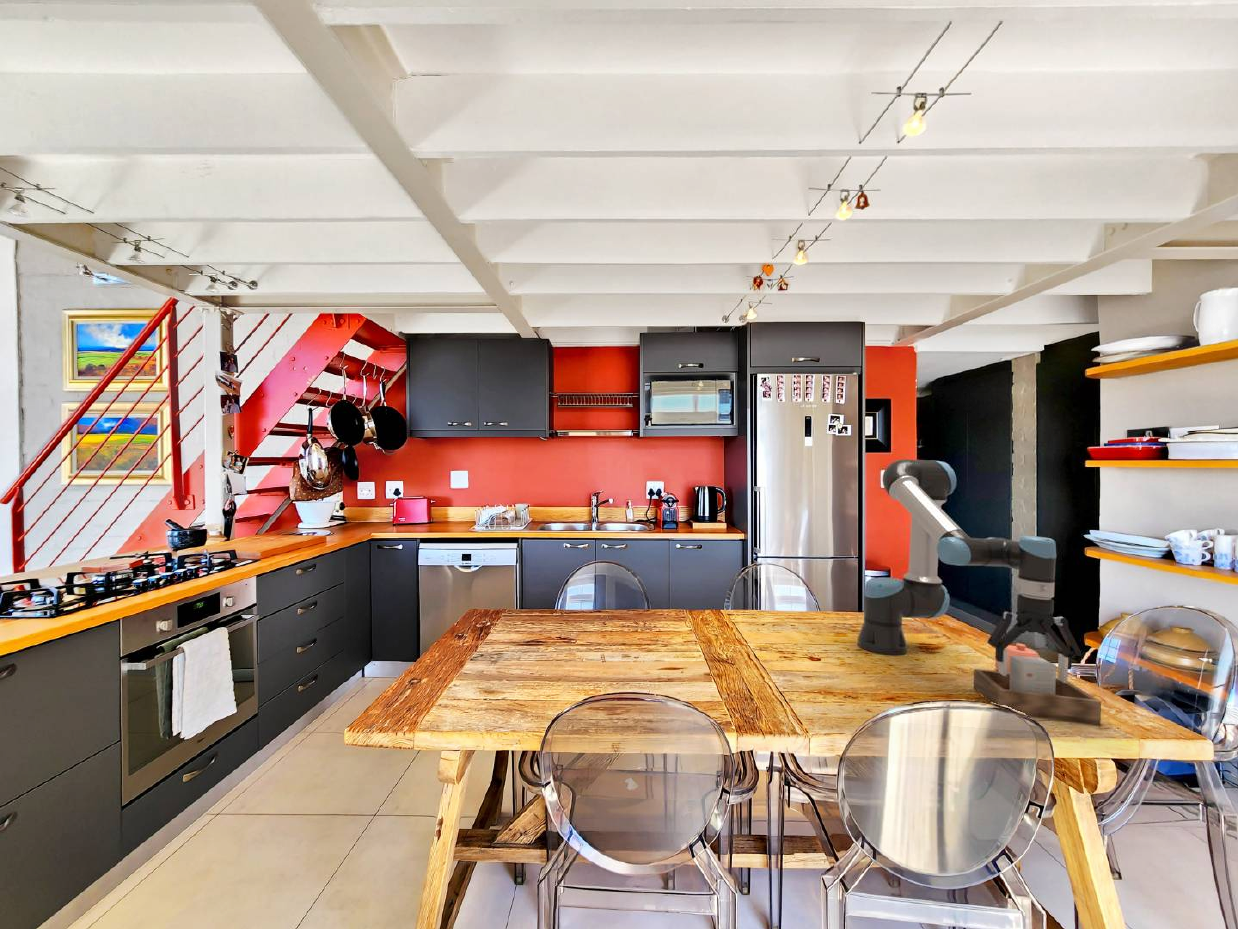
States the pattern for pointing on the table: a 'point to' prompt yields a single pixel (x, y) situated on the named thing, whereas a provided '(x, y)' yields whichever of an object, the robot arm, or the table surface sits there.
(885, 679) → the table surface
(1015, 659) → the small box
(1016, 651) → the teapot
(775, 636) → the table surface
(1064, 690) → the crate
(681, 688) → the table surface
